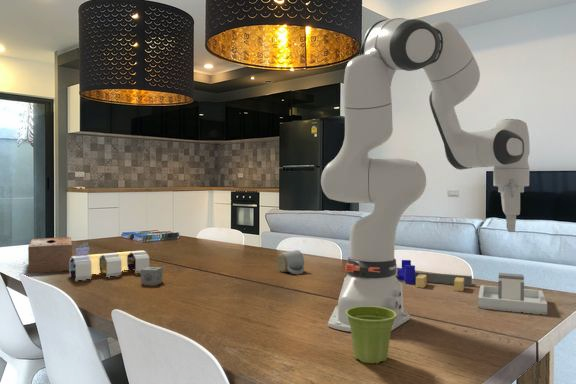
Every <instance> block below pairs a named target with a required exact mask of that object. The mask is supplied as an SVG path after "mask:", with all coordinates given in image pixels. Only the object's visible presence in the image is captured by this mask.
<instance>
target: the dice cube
mask: <svg viewBox="0 0 576 384" xmlns="http://www.w3.org/2000/svg"><path fill="white" fill-rule="evenodd" d="M160 282H162V283H163V267H162V266H159V267H158V266H157V267H156V266H149V267H147V268H144V269H142V270H141V274H140V285H141V284H144V285H143V286H157V285H156V284H158V283H160ZM160 284H161V283H160ZM158 285H159V284H158Z"/></svg>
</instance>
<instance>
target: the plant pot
mask: <svg viewBox="0 0 576 384" xmlns="http://www.w3.org/2000/svg"><path fill="white" fill-rule="evenodd" d="M346 315H347V316H348V320H349V323H350V327H351V332H350V333H351V339H352V340H351V341H352V349H353V356H354V358H355V359H356V360H359V361H360V362H361V363H364V364H372V363H373V365H375V364H374V363H376V364H379V363H380V362H385V361H387V360H388V355H389V347H390V340H391V334H392V331H391V329H392V325H393V323H394V319H395V318H396V313H395V312H394V311H392V310H390V309H387V308H382V307H375V306H359V307H353V308H350V309H348V310H346Z"/></svg>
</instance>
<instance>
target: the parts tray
mask: <svg viewBox="0 0 576 384" xmlns="http://www.w3.org/2000/svg"><path fill="white" fill-rule="evenodd" d="M478 291H479V292H478V296H477V298H478V299H477V308H478V309H484V310H485V309H486V310H493V311H494V310H495V311H503V312H511V311H512V313H521V312H523V313H522V314H530V313H532V315H533V314H534V315H540V314H542V315H541V316H548V302H547V300H546V297H545V294H544V291H543V290H540V289H530V288H529V289H528V288H524V301H519V300H509V299H498V286H496V285H495V286H494V285H493V286H492V285H483V284H480V286H479V290H478Z"/></svg>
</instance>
